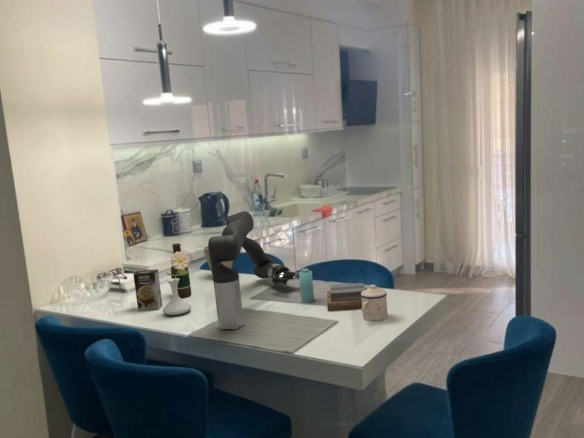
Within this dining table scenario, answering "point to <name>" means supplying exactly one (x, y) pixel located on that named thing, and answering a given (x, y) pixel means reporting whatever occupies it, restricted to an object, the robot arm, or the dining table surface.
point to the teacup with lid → (374, 304)
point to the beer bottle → (181, 277)
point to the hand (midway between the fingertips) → (295, 279)
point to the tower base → (345, 303)
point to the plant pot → (226, 263)
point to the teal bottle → (306, 286)
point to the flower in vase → (176, 302)
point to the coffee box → (148, 290)
